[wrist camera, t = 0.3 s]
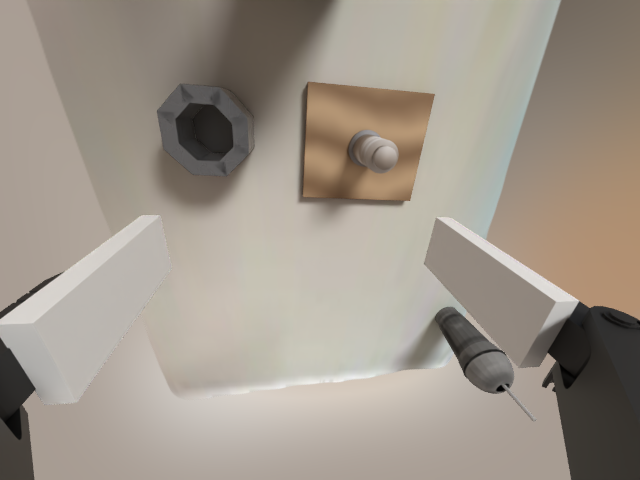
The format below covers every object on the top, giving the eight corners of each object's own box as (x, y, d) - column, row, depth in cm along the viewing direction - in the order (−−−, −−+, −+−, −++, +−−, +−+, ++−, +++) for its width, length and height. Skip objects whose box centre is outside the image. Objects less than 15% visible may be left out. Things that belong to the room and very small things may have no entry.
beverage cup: (438, 299, 51) (521, 402, 33) (470, 303, 52) (565, 404, 34) (422, 327, 54) (491, 435, 36) (453, 330, 55) (533, 436, 37)
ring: (174, 85, 30) (151, 81, 25) (252, 92, 32) (246, 89, 26) (186, 163, 34) (168, 173, 29) (255, 166, 36) (249, 177, 30)
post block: (307, 82, 32) (315, 73, 24) (430, 94, 34) (475, 90, 26) (302, 194, 38) (307, 218, 30) (406, 198, 40) (437, 221, 32)
